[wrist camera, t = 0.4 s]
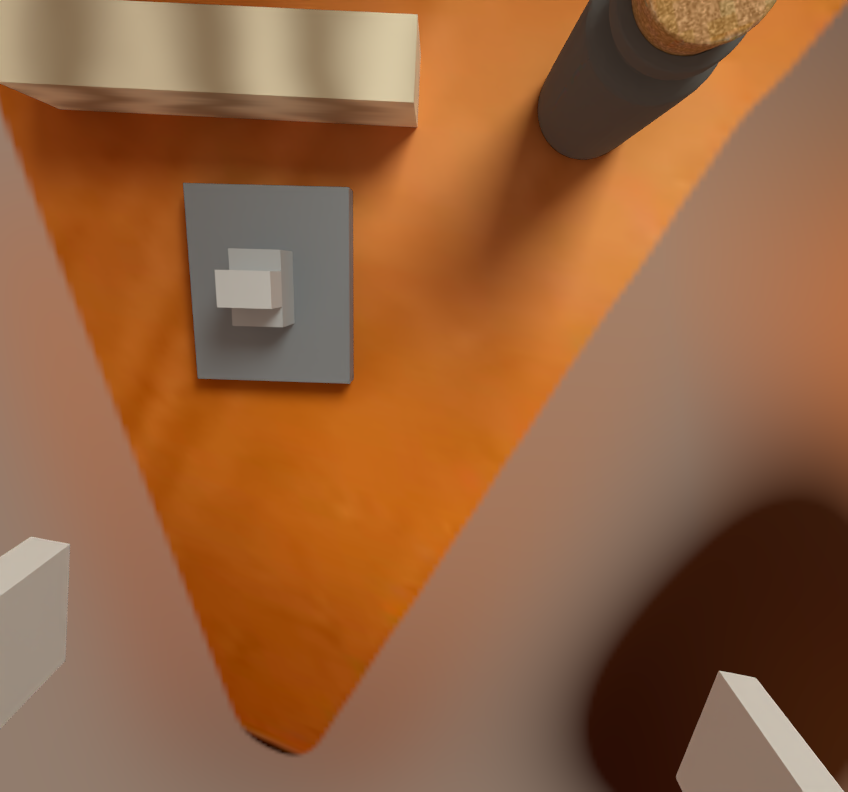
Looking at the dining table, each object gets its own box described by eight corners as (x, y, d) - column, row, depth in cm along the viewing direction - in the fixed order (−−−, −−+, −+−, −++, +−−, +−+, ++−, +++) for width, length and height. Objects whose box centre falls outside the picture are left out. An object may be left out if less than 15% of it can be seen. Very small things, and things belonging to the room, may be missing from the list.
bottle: (534, 161, 32) (616, 66, 17) (538, 53, 30) (631, -150, 16) (630, 160, 31) (797, 63, 17) (639, 51, 30) (828, -156, 16)
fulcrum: (194, 187, 33) (141, 168, 27) (352, 191, 32) (333, 173, 26) (207, 374, 35) (161, 394, 29) (353, 379, 35) (336, 400, 29)
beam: (63, 110, 32) (-5, 81, 27) (55, 37, 31) (-16, -7, 26) (417, 128, 32) (413, 102, 27) (420, 55, 31) (417, 14, 26)
